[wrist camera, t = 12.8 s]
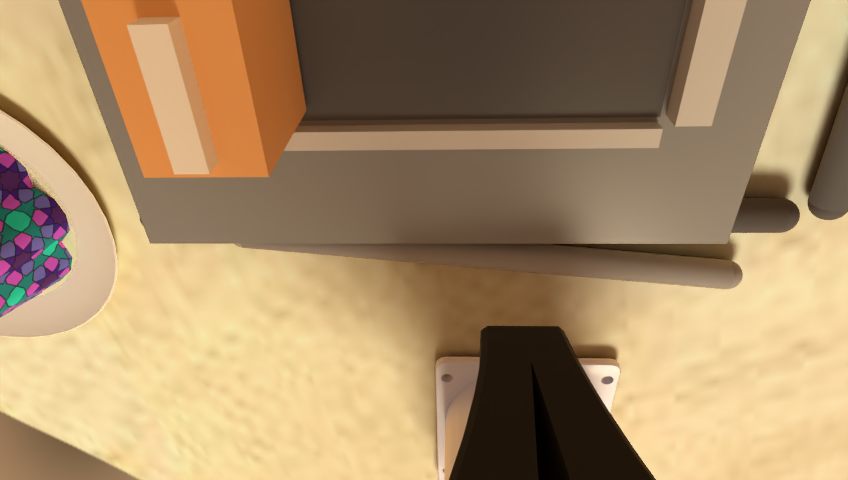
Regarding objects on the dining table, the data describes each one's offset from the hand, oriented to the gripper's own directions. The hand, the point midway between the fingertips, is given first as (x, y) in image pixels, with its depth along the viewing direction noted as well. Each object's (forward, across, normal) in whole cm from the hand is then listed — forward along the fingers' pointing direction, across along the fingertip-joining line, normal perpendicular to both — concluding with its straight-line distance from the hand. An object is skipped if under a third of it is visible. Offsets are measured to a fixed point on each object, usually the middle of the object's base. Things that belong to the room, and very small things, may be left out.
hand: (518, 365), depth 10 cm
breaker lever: (+9, +7, -3) cm, 11 cm away
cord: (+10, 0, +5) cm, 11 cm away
